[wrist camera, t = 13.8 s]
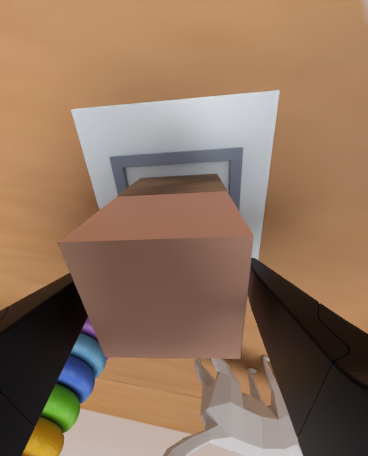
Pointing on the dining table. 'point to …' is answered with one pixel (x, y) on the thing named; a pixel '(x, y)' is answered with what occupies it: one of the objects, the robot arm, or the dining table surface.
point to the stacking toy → (68, 395)
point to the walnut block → (175, 185)
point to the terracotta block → (164, 275)
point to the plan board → (184, 146)
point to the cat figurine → (240, 416)
